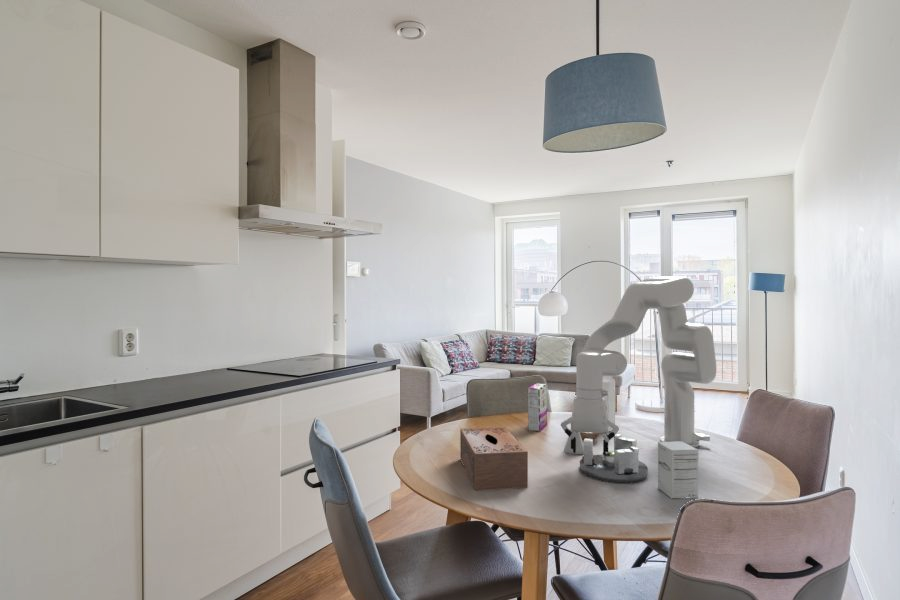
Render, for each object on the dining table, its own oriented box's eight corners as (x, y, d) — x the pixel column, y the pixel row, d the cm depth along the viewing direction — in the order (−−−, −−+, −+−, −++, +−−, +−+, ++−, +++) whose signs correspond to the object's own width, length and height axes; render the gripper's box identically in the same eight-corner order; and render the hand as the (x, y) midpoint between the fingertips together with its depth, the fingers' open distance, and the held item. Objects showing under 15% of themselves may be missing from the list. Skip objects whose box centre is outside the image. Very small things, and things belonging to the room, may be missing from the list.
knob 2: (613, 470, 143) (613, 447, 143) (632, 468, 144) (632, 445, 144) (620, 474, 140) (620, 451, 140) (639, 473, 141) (639, 449, 141)
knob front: (594, 458, 153) (594, 437, 153) (594, 465, 147) (594, 442, 147) (582, 457, 154) (582, 436, 154) (581, 464, 149) (581, 441, 148)
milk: (608, 432, 191) (608, 374, 191) (593, 429, 195) (593, 372, 195) (615, 429, 196) (615, 372, 195) (600, 426, 200) (600, 370, 199)
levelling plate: (645, 464, 155) (645, 446, 155) (650, 486, 137) (650, 466, 137) (581, 458, 161) (581, 441, 161) (577, 479, 143) (577, 459, 143)
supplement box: (656, 488, 136) (656, 441, 136) (683, 487, 137) (683, 440, 136) (671, 499, 129) (671, 449, 128) (699, 498, 129) (699, 448, 129)
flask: (586, 455, 163) (586, 425, 163) (563, 454, 165) (563, 423, 165) (585, 449, 171) (585, 419, 170) (563, 448, 172) (563, 418, 172)
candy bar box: (535, 423, 204) (535, 383, 204) (547, 424, 202) (547, 383, 202) (527, 430, 194) (527, 387, 194) (540, 431, 192) (539, 388, 192)
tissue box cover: (460, 460, 161) (460, 428, 160) (505, 458, 162) (504, 426, 162) (475, 491, 135) (474, 454, 135) (527, 488, 137) (527, 451, 137)
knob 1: (631, 462, 150) (631, 440, 150) (612, 457, 155) (612, 435, 155) (637, 459, 153) (637, 437, 152) (618, 454, 157) (618, 433, 157)
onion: (597, 449, 181) (610, 425, 179) (580, 446, 175) (593, 421, 174) (580, 433, 188) (592, 410, 187) (563, 430, 183) (575, 406, 182)
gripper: (620, 393, 151) (619, 451, 152) (560, 390, 157) (560, 446, 157) (620, 398, 144) (620, 459, 144) (558, 394, 149) (558, 453, 150)
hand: (589, 452), depth 151 cm, fingers open, 8 cm apart
